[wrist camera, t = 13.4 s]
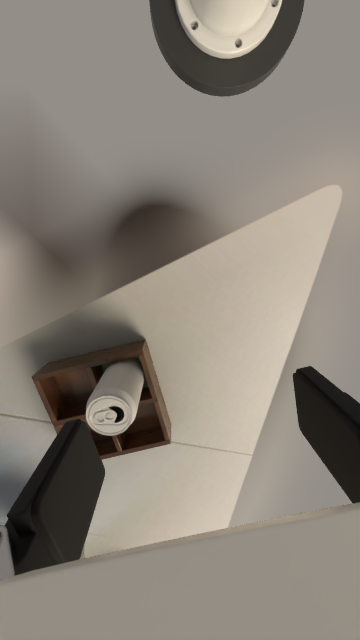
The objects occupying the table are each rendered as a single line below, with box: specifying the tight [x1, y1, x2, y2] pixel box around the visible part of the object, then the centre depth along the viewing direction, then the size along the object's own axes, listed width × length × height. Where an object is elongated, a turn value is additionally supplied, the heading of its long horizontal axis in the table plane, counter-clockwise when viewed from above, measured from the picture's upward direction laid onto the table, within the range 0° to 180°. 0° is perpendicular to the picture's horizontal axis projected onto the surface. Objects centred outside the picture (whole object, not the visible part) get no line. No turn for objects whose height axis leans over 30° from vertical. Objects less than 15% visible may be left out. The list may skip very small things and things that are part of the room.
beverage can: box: [86, 357, 145, 436], centre depth 35 cm, size 6×6×12 cm
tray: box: [32, 339, 171, 460], centre depth 41 cm, size 17×17×5 cm
